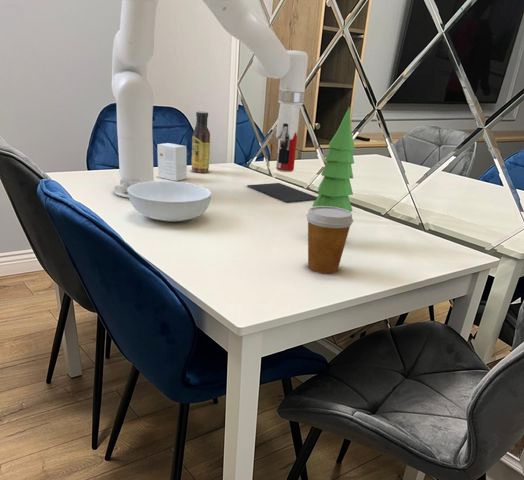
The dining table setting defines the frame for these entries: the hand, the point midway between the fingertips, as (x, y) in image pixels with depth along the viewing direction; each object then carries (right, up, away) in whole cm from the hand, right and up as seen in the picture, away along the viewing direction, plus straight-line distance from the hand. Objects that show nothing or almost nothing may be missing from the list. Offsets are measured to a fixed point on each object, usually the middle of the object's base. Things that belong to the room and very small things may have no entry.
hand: (285, 161), depth 167 cm
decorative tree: (+9, -33, -37) cm, 50 cm away
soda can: (0, -3, +1) cm, 3 cm away
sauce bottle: (-30, +5, +25) cm, 39 cm away
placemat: (-1, -9, +5) cm, 10 cm away
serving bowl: (-31, -25, -29) cm, 49 cm away
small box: (-37, -2, +12) cm, 39 cm away
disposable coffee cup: (+5, -42, -54) cm, 69 cm away
